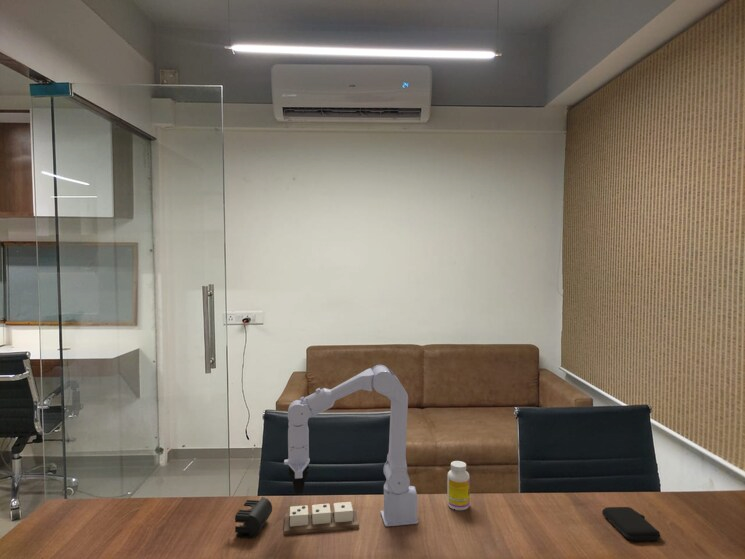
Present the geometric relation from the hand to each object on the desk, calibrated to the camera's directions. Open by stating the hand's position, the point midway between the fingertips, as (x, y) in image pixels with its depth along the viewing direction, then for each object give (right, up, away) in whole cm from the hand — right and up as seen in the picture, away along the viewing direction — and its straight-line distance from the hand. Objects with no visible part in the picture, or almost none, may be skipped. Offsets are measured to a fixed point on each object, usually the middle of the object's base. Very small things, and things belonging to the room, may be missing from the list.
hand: (298, 492), depth 132 cm
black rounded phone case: (+93, -10, -1) cm, 93 cm away
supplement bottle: (+47, -9, +11) cm, 49 cm away
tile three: (0, -8, 0) cm, 8 cm away
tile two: (+6, -8, +1) cm, 10 cm away
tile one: (+12, -8, +2) cm, 15 cm away
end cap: (-12, -10, -2) cm, 16 cm away
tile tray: (+6, -9, +1) cm, 11 cm away
